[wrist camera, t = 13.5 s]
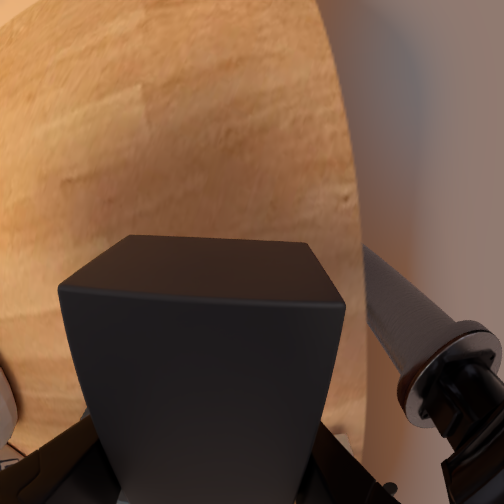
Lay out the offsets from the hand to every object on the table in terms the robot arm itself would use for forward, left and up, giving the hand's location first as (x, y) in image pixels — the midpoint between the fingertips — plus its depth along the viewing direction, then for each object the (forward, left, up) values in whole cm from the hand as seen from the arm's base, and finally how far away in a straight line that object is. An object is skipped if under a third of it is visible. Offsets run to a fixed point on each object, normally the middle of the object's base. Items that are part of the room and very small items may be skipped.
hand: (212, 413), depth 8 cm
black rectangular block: (0, 0, -1) cm, 1 cm away
